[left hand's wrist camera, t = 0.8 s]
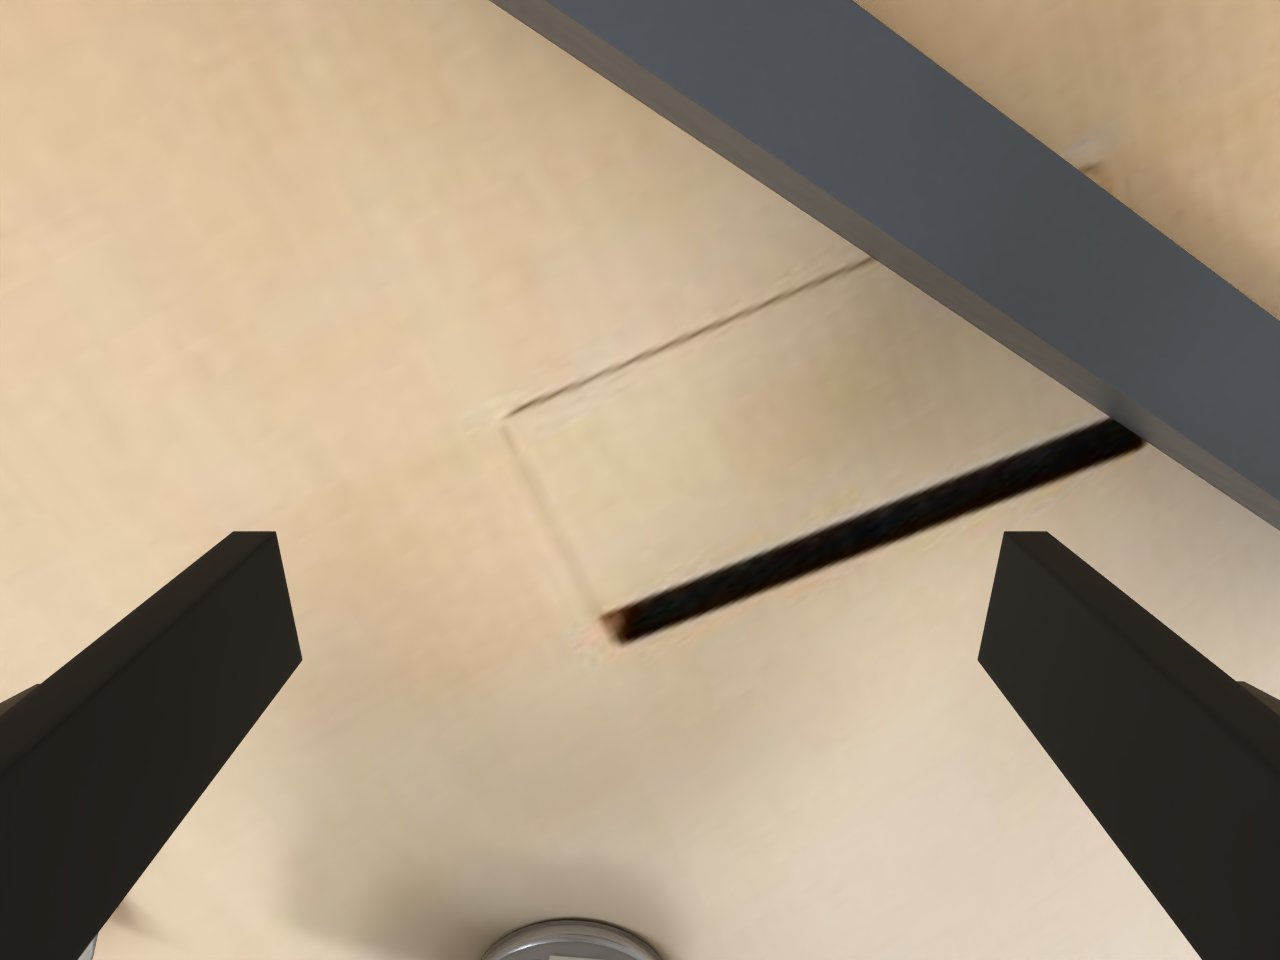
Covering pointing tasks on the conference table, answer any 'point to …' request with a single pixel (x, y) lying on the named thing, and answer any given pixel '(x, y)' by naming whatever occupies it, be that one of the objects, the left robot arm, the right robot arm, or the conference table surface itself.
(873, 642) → the conference table surface
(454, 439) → the conference table surface
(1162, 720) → the left robot arm
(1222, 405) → the post
